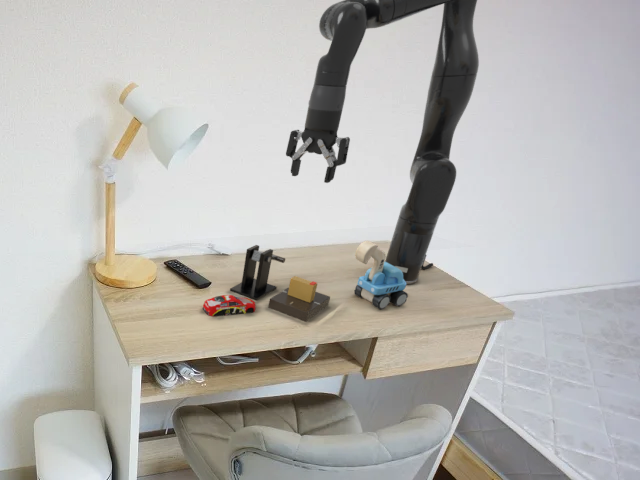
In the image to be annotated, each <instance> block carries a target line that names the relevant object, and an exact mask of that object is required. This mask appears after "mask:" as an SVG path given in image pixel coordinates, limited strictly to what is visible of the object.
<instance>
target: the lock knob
mask: <svg viewBox="0 0 640 480" xmlns="http://www.w3.org/2000/svg"><path fill="white" fill-rule="evenodd" d="M288 287H289V290H288V295H290V296H292V297H295V298H298V299H301V300H304V301H306V302H309V303H310V302H312V301H313V300H314V296H315V292H317V288H318V282H317V281H311V280H308V279H306V278H302V277H299V276H296V275H294V276H292V277H291V278H290V281H289V285H288Z"/></svg>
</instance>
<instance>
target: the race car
mask: <svg viewBox="0 0 640 480" xmlns="http://www.w3.org/2000/svg"><path fill="white" fill-rule="evenodd" d="M256 307H257V304H256V302H255V300H253V299H250V298H248V297H245V296H242V297H241V296H235V295H233V294H223V295H217V296H214V297H211V298H208V299H205V300H204V303H203V305H202V311H204V313H205V314H206V315H208V316H211V317H224V316H235V315H236V316H237V315H245V314H251V313H255V311H256Z"/></svg>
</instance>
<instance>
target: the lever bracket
mask: <svg viewBox="0 0 640 480" xmlns="http://www.w3.org/2000/svg"><path fill="white" fill-rule="evenodd" d="M254 250H257V251H260V245H258V244H255V245H253V246H251V247H248V248H247V249H246V253H245V258H244V259H245V260H244V265H243V272H242V279H241V282H240V283H238V284H236V285H234V286H232V287H231V288H229V291H230V292H232V293H235V294H237V295H240V296H242V297H244V298H248V299H251V300H253V301H254V302H255V301H256V302H257V301H258V300H261V299H262V298H263V297H265V296H267V295H269V294H271V293H272V292H274V291H275V290H277V286H276V285H273V284H271V283H268V281H269V275H270V270H271V264H272V261H273V260H272V254H273V252H274V249H271V248H269V249H267V250H265V251H262V252H263V253H261V255H260V261H259V262H258V261H255V260H252V255H253V252H254ZM273 255H274V254H273ZM257 262H258V267H257ZM256 270H257V272H256ZM256 273H257V274H256ZM255 275H256V278H255Z"/></svg>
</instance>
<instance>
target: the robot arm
mask: <svg viewBox="0 0 640 480" xmlns="http://www.w3.org/2000/svg"><path fill="white" fill-rule="evenodd" d="M477 4H478V0H341V1H338V2H336V3H333V4H332V5H330V6H328V7H327V8H326V9H325V10H324V12H323V13H322V14H321V17H320V19H319V23H318V29H319V33H320V35H321V36H322V37H323V38H324V39H325V40H328V41H331V43H330V45H329V49H328V51H327V53H326V54H323V55H321V57H320V58H319V59H318V62H317V66H316V71H315V76H314V81H313V86H312V89H311V92H310V96H309V100H308V107H307V112H306V117H305V123H304V129H303V131H301V130H300V129H294V130H292V131H290V134H289V139H288V142H287V146H286V151H285V156H286V157H289V158H291V160H292V161H291V167H290V174H291V176H292V177H297V176H299V173H300V169H301V163H302V158H303V156H304V155H305V154H306V153H309V154H313V153H314V154H316V155H322V156H323V158H324V160H325V161H326V162H327V165H328V166H327V167H326V171H325V176H324V179H323V183H326V184H328V183H331V181H333V180H334V178H335V173H336V171H337V167H339V166H342V165H345V164H346V163H347V158H348V153H349V147H350V142H351V138H350V137H349V136H346V137H339V136H338V130H339V127H340V122H341V118H342V113H343V109H344V105H345V100H346V95H347V86H348V81H349V77H350V72H351V66H352V64H353V62H354V60H355V58H356V56H357V53H358V51H359V49H360V47H361V44H362V42H363V39H364V37H365V34H366V31H367V30H369V29H377V28H382V27H385V26H388V25H390V24H393V23H396V22H399V21H402V20H405V19H407V18H409V17H412V16H415V15H417V14H419V13H422V12H425V11H427V10H430V9H433V8H436V7H438V6H441V5H443V10H442V20H441V25H440V33H439V38H438V43H437V49H436V52H435V58H434V63H433V68H432V72H431V76H430V80H429V84H428V89H427V95H426V102H425V108H424V113H423V119H422V120H423V121H422V128H421V133H420V137H419V141H418V144H417V147H416V151H415V153H414V156H413V160H412V163H411V165H410V170H409V179H410V183H412V184H411V188H410V191H409V193H408V196H407V200H406V201H405V203H404V204H403V205H402V206H401V208H400V211H399V214H398V217H397V221H396V224H395V227H394V230H393V234H392V238H391V240H390V244H389V247H388V251H387V254H386V258H385V262H387V263H389V264H391V265H393V266H395V267H396V268H398V269H400V270H401V271H402V273H403V279H404V280H405V282H406V285H412V284H415V283H417V281H418V280H419V275H420V273H421V270H424V271H425V270H427V269H430V268H431V267H433V266H434V263H433V262H430V263H428V264H427V265H425V266H424V264H425V261H426V258H427V255H428V254H427V253H428V249H429V248H430V247H429V246H430V244H431V241H432V239H433V235H434V233H435V229H436V226H437V224H438V221H439V218H440V216H441V214H443V212H444V210H445V209H446V206H447V204H448V201H449V199H450V196H451V194H452V191H453V189H454V185H455V182H456V180H457V168H456V165H455V163H453V162H452V161H451V160H450V157H451V149H452V143H453V137H454V134H455V131H456V129H457V126H458V124H459V123H460V120H461V119H462V117H463V115H464V113H465V111H466V110H467V107H468V105H469V103H470V100H471V97H472V94H473V93H474V92H473V91H474V88H475V83H476V80H477V76H478V72H479V65H480V59H479V58H480V57H479V51H478V47H477V42H476V38H475V37H476V36H475V32H474V17H475V13H476V7H477ZM299 140H302V143H303V144H302V145H301V146H300V147H299V148H298V149H297V146H298V142H299ZM336 144H337V145H336ZM334 145H336V146H337V148H338V152H337V156H336V151H335V149H334V147H333V146H334Z"/></svg>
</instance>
